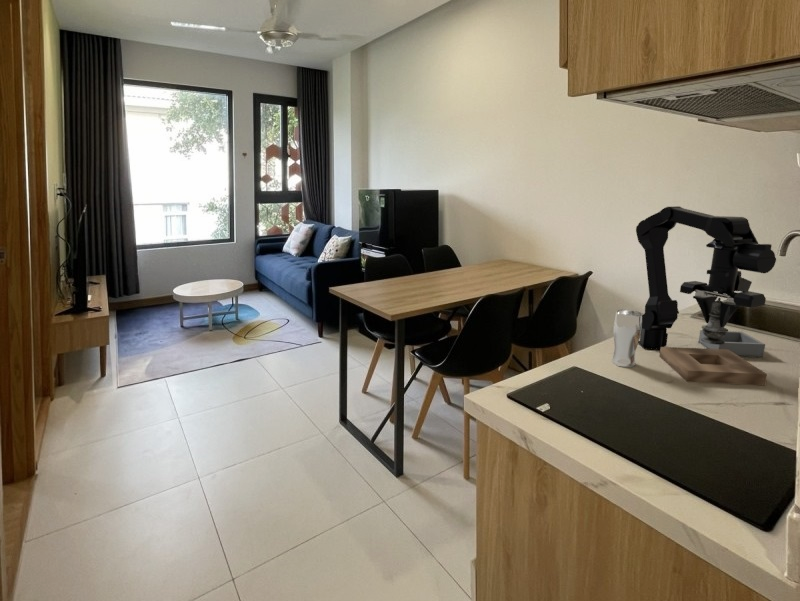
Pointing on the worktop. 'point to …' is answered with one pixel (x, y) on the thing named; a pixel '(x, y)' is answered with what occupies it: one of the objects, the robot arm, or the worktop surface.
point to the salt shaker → (714, 326)
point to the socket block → (712, 366)
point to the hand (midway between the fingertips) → (715, 324)
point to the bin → (737, 344)
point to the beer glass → (626, 336)
